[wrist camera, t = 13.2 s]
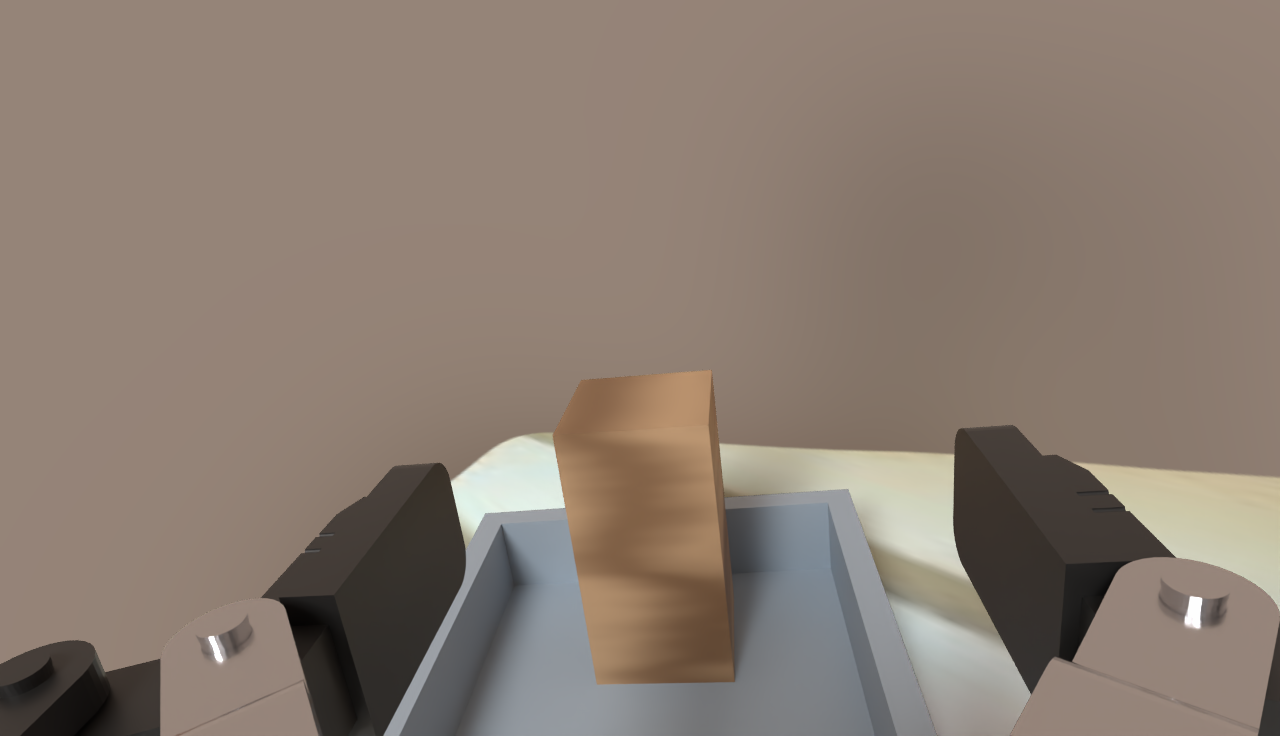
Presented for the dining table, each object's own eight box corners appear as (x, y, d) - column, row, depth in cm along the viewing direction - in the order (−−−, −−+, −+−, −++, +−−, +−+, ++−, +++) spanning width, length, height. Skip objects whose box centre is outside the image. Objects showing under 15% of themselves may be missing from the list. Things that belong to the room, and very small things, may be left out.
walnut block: (734, 594, 31) (711, 369, 28) (734, 682, 27) (708, 424, 23) (616, 598, 32) (581, 380, 29) (596, 684, 27) (552, 435, 24)
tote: (501, 588, 35) (485, 513, 34) (851, 568, 33) (848, 489, 32) (267, 1148, 16) (211, 1029, 15) (1037, 1178, 15) (1048, 1045, 13)
